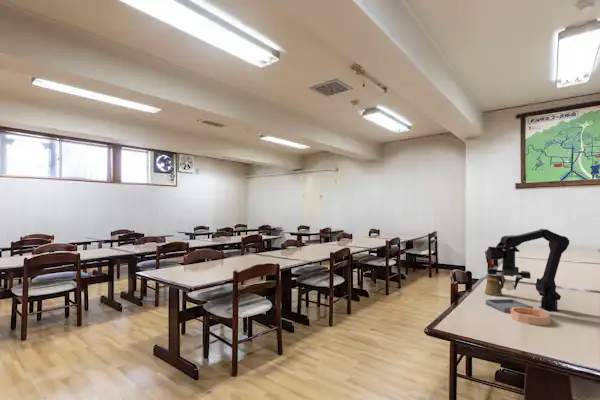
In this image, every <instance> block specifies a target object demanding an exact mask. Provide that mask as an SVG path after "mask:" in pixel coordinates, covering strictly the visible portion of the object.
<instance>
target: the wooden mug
mask: <svg viewBox="0 0 600 400" xmlns="http://www.w3.org/2000/svg"><path fill="white" fill-rule="evenodd" d="M495 275H496V274H495ZM495 275H491V274H488V275H487V277H486V284H485V289H484V294H485V295H488V296H492V297H493V296H494V297H501V296H502V295H503V292H502V290H503V288H502V286H501V283H500V280H499V278H498V277H496V276H495ZM502 278H503V284H504V282H505V281H507V280H506V276H504V275H503V274H502Z"/></svg>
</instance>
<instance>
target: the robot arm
mask: <svg viewBox="0 0 600 400" xmlns="http://www.w3.org/2000/svg"><path fill="white" fill-rule="evenodd" d="M541 238H543V239H544V240H546V241H547V242H548V247H549V255H548V258H547V262H546V265H545V268H544V272H543V276H541V278H536V282H535V284H534V286H535V290H536V291H537V292H538V294H539V296H541V300H540V306H538V307H539V308H540V309H541V310H545V311H546V312H547V311H548V312H560V311H561V309H558V301H560V300H561V298H562V296H561V294H559V292H557V291H556V289H557V288H556V287H557V284H556V276H557V272H558V268H559V264H560V260H561V258H562V254H564V252H565V251H567V249H568V247H569V245H570V239H569V238H568V237H567V236H564V235H560V234H558V233H555V232H553V231H551V230H549V229H545V228H540V229H537V230H533V231H529V232H526V233H521V234H517V235H516V234H514V235H513V234H512V235H510V234H509V235H504V236H501V238H500V240H499V242H498V243H497V245H496V246H488V247H487V249H486V251H485V255H486V258H487V260H494V261H495V260H499V261H500V260H502V262H501V263H502V267H501V270H500V269H498V268H496V267H489V268H488V270H487V271H488V273H487V274H488V275H495V276H496V277H498V278H499V280H500V284H501V286H502V289H504V286H503V278H502V274H503V275H504V277H506V276H509V277H514V276H515V281H514V289H513V290H514V291H516V289H517V286H518V284H519V283H520V281H521V280H523V279H531V272H530V271H527V270H521V271H520V269H519V266H516V252H517V253H518V252H520V250H519V248H517V247H519V246H520V245H521V244H523V243H526V242H530V241H534V240H535V241H536V240H538V239H541ZM519 271H520V272H519Z"/></svg>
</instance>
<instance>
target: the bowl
mask: <svg viewBox="0 0 600 400" xmlns="http://www.w3.org/2000/svg"><path fill="white" fill-rule="evenodd" d="M509 316H510V318H511V317H512V318H513V319H512V318H511V319H512V320H514V319H515V321H516V322H519V321H520V323H523V322H524V324H526V323H527V325H532V326H548V325H549V324H551V315H550V314H549V313H548V312H547V311H546V312H545V311H544V310H542V309H540V310H539V309H536V308H533V309H532V308H525V307H513V308H511V309H510V315H509Z"/></svg>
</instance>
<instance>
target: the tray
mask: <svg viewBox="0 0 600 400" xmlns="http://www.w3.org/2000/svg"><path fill="white" fill-rule="evenodd" d="M485 305H487V306H489V307H491V308H493V309H494V310H498V311H499V312H502V313H505V314H507V313H508V314H509V313H510V309H511V308H513V307H525V308H532V309H534V306H531V305H529V304H526V303H523V302H521V301H518V300H516V299H513V298H507V299H506V298H504V299H502V298H501V299H500V298H498V299H485Z"/></svg>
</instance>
